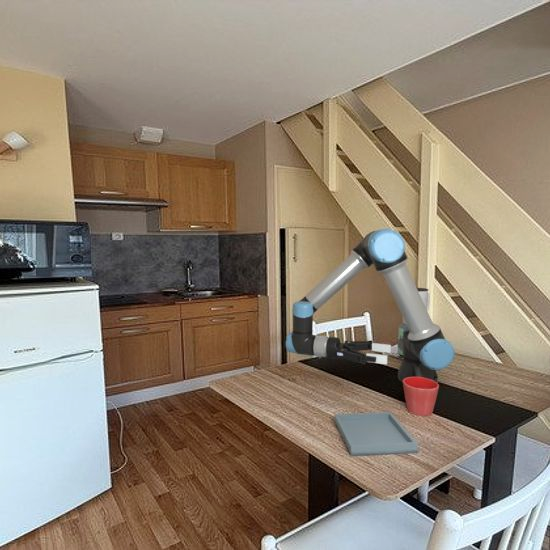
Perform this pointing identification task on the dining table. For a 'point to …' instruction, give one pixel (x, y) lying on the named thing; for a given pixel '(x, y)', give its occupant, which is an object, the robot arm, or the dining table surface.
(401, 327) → the juicer
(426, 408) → the flower pot
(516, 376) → the dining table surface
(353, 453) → the tray
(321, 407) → the dining table surface
